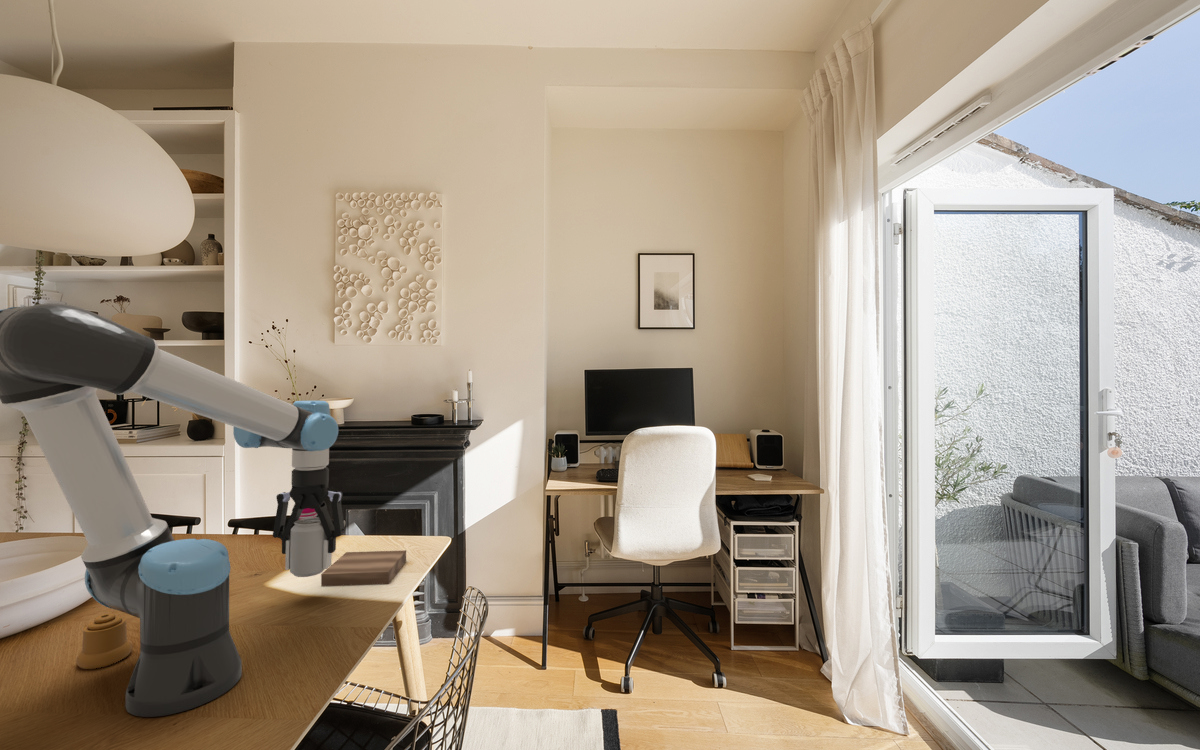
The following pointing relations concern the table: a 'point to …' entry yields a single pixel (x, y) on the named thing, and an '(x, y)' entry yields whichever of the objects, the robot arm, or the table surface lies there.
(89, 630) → the ornamental finial
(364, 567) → the walnut plinth
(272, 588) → the table surface
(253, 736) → the table surface
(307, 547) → the can
